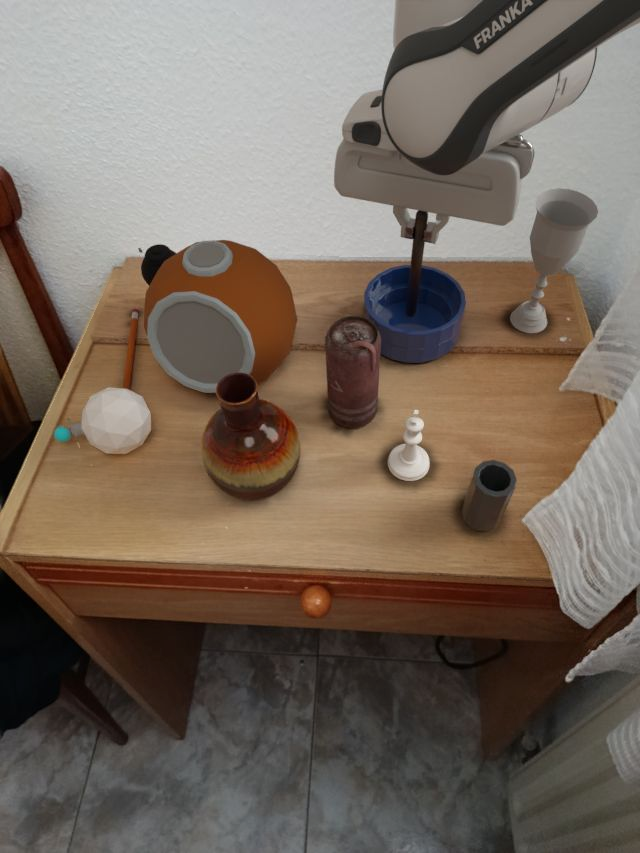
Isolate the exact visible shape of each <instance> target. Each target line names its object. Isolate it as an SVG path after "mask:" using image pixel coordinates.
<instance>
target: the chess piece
mask: <svg viewBox="0 0 640 853" xmlns="http://www.w3.org/2000/svg"><path fill="white" fill-rule="evenodd" d="M419 412H420V410H419V409H414V411H413V416H410V417H407V418H406V420H405V421H404V426H405V429H406V430H404V432H403V433H402V439H403V441H404V442H405V443H402V444H398V445H396V446H395V447H394V448H392V450H391V451H390V452H389V455H388V457H387V467H388V469H389V472H390V473H391V474H392V475H393V476H394V477H395V478H396V479H399V480H401V481H406V482H414V481H418V480H420V479H422V478H424V477H425V476H426V475H427V474H428V472H429V470H430V466H431V463H430V457H429V454H428V453H427V451H426V450H425V449H424V448H422V446H420V445H418V444H420V443H421V442H422V440H423V434H422V431H423V429H424V428H425V427H424V426H425V423H424V421H423V419H422V418H420V417H419Z"/></svg>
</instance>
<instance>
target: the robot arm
mask: <svg viewBox="0 0 640 853" xmlns="http://www.w3.org/2000/svg"><path fill="white" fill-rule="evenodd" d="M393 17H394V18H393V31H392V44H393V52H392V54H391V57H390V60H389V62H388V66H387V68H386V72H385V75H384V79H383V84H382V89H378V90H373V91H368V92H364V93H363V94H361V95H360V97H359V98H357V99H356V101H355V102H354V103H353V105H352V106H351V108H350V109H349V110H348V112H347V114H346V116H345V118H344V120H343V122H342V125H341V134H342V138H343V139H342V140H341V142H340V144H339V145H338V147H337V149H336V153H335V159H334V160H335V161H334V170H333V171H334V172H333V185H334V188H335V190H336V191H337V193H338V194H339V195H340V196H341V197H345V198H350V199H354V200H355V199H356V200H360V201H366V202H371V203H377V204H382V205H387V206H392V213H393V214H392V215H394V217H395V219H396V221H397V222H398V224H399V226H400V238H404V239H406V240H407V239H408V240H413V237H414V228H415V218H412V217H411V215H410V212H409V210H408V209H410V210H414V211H418V210H419V211H425V212H428V213H430V214H436V215H435V220H436V221H435V222H433V221H427V227H426V228H425V230H424V238H423V241H424V242H425V243H429V244H433V245H436V244H437V242H438V239H439V235H440V231H441V230H442V229H444V227H445V226H446V225H448V223H449V221H450V218H451V217H452V218H458V219H461V220H462V219H463V220H469V221H474V222H478V223H485V224H490V225H495V226H501V227H502V226H506V225H507V224H509V223H511V222H512V221H513V220H514V219H515V216H516V213H517V210H518V206H519V202H520V197H521V193H522V192H521V191H522V186H523V179H524V178H525V177H526V176H528V174H530V172H531V170H532V166H533V162H534V158H535V149H534V146H533V145H532V144H531V143H530V142H529V141H528V140H526V139H524V136H523V134H522V133H524V132H526V131H528V130H529V129H531V128H533V127H534V126H537V125H539V124H540V123H542V122H544V121H546V120H547V119H549V118H551V117H553V116H555V115H556V114H558V113H560V112H562V111H563V110H565V108H568V107H570V106H571V105H572V104H574V103H575V102H576V101H577V100H578V99H579V98H580V97H581V95H583V93H584V92H585V90H586V89H587V87H588V85H589V83H590V81H591V79H592V76H593V73H594V70H595V65H596V62H597V54H598V48H599V47H600V46H601V45H603V44H605V43H607V42H608V41H609V40H611V39H612V38H614V37H616V36H617V35H619V34H621V33H623V32H625V31H626V30H628V29H631V28H632V27H634V26H636V25H638V24H640V0H395V4H394V16H393Z"/></svg>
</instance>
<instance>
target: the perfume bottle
mask: <svg viewBox="0 0 640 853" xmlns="http://www.w3.org/2000/svg"><path fill="white" fill-rule="evenodd" d="M67 421H68V423H69V426H66V425H63V424H62V425H58V426H57V427H56V428H55V430H54V433H53V435H54V438H55V439H56V441H58V442H59V443H60V442H61V443H67V442H68V441H70V440H71V438H72V435H73V437H74V438H75V439H76V443H77V446H78V448H79V449H81V446H80V440H79V436H85V437H86V439H87V441H88V442H89V444H90V445H91V447H92V446H93V447H94V448H96V449H97V450H99V451H101V452H103V453H105V454H108V455H110V454H111V455H112V454H113V455H127V454H128V453H130V452H132V451H133V450H136V449H138V448H139V447H141V446H143V445H144V443H145V441H146V439H147V438H148V436H149V435H150V433H151V431H152V413H151V411H150V410H149V407H148V405H147V403H146V401H145V399H144V397H143V396H142V395H140V394H139V393H136V392H134V391H132V390H131V389H130V390H129V389H123V387H121V388H120V387H110V386H109V387H106V388H104V389H102V390H100V391H98V392H96V393H94V394H92V395H90V396H89V399H88V400H87V402H86V404H85V405H84V408H83V409H82V412H81V421H79V422H75V423H74V422H72V421H71V420H70V418H69V417H67Z"/></svg>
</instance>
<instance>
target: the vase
mask: <svg viewBox="0 0 640 853" xmlns="http://www.w3.org/2000/svg"><path fill="white" fill-rule="evenodd" d="M258 386H259V385H258V384H257V382H256V380H255V379H254V378H253V377H252V376H251V375H249V374H246V373H242V372H236V373H231V374H228V375H226V376H225V377H223V378H222V379H221V380H220V381H219V382H218V384H217V386H216V393H215V395H216V398H217V400H218V403H219V405H220V408H219V409H218V410H217V411H216V412H214V414H213V415H211V416H210V418H209V420H208V422H207V423H206V425H205V427H204V429H203V432H202V436H201V444H200V453H201V454H200V455H201V460H202V463H203V466H204V469H205V471H206V473H207V475H208V476H209V478H210V479H211V480H212V481H213V483H214V484H215V485H216V486H217V487H218V489H221V490H222V492H224V493H226V494H228V495H229V496H230V497H233V498H236V499H240V500H244V501H260V500H264V499H267V498H271V497H273V496H274V495H276V494H278V493H279V492H281V491H282V490H283V489H285V488H286V487H287V485H288V484H290V482H291V480H292V479H293V477H294V476H295V473H296V472H297V469H298V467H299V463H300V458H301V438H300V434H299V431H298V429H297V426H296V424H295V422H294V420H292V418H291V416H290V415H289V414H288V413H287V412H286V411H285V410H284V409H283V408H281V407H280V406H278V405H277V404H276V403H274V402H271V401H270V400H266V399H264V398H263V399H262V398H260V396H259V387H258Z"/></svg>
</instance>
